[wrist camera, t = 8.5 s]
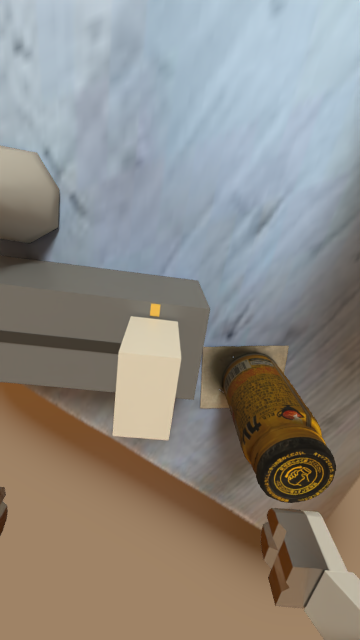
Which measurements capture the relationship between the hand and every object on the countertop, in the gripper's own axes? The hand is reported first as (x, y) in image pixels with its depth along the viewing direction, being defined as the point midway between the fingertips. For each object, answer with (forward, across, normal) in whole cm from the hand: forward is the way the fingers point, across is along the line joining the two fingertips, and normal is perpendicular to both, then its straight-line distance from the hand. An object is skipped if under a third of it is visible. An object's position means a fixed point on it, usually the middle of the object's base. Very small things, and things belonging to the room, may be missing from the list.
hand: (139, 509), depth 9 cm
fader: (+11, 0, +1) cm, 11 cm away
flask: (+20, +13, -8) cm, 25 cm away
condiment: (+20, -9, +7) cm, 23 cm away
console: (+19, +6, +1) cm, 20 cm away
